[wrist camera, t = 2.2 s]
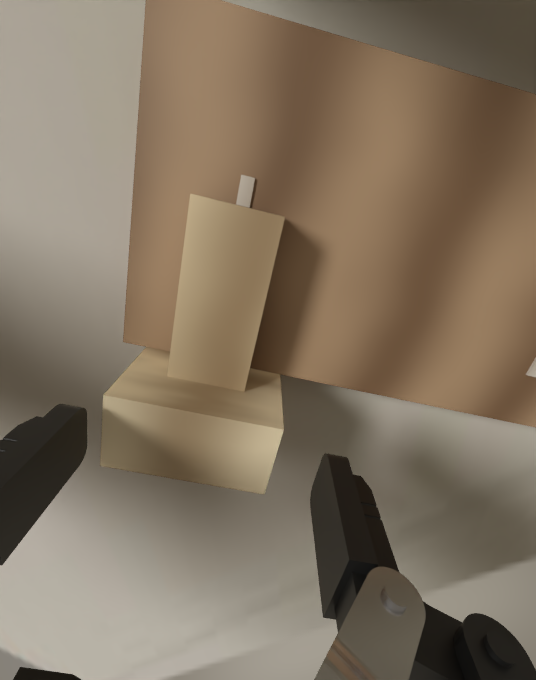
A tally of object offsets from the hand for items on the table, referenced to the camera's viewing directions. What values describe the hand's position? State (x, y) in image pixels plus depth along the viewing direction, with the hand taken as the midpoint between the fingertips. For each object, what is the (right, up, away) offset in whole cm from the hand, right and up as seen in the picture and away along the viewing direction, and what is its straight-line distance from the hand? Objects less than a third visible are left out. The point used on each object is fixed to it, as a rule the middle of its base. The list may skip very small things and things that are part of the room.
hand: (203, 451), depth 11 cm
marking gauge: (0, +5, +5) cm, 7 cm away
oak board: (+8, +8, +4) cm, 12 cm away
